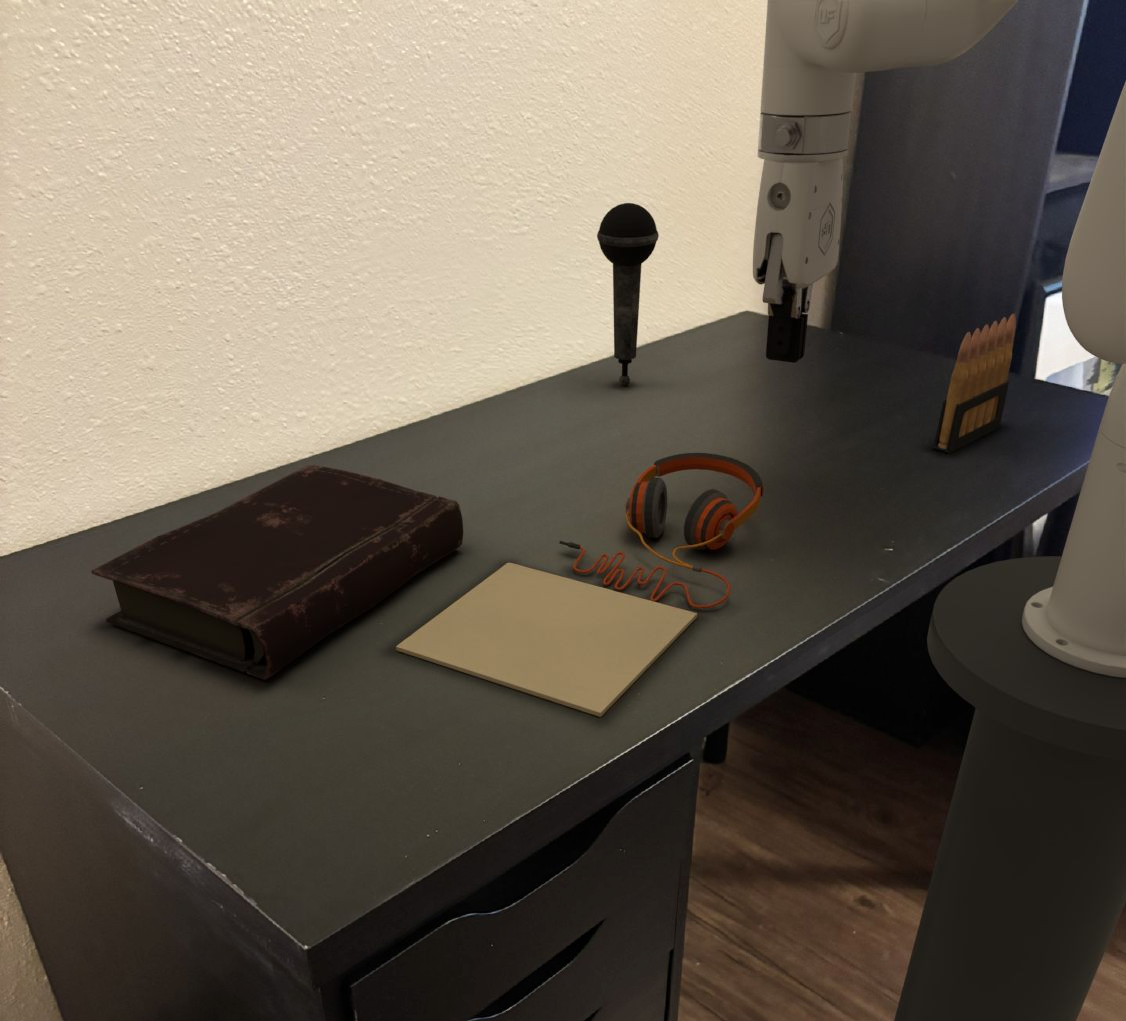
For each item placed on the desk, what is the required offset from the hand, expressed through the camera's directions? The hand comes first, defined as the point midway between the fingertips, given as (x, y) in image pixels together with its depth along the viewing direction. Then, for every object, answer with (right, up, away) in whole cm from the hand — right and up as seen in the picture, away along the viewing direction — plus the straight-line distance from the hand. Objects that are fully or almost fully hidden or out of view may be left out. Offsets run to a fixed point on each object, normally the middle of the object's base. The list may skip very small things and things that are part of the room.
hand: (784, 358), depth 104 cm
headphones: (-11, -19, -5) cm, 22 cm away
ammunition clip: (+23, -3, +15) cm, 27 cm away
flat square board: (-22, -28, -17) cm, 39 cm away
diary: (-44, -23, -10) cm, 50 cm away
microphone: (-13, +7, +29) cm, 33 cm away
